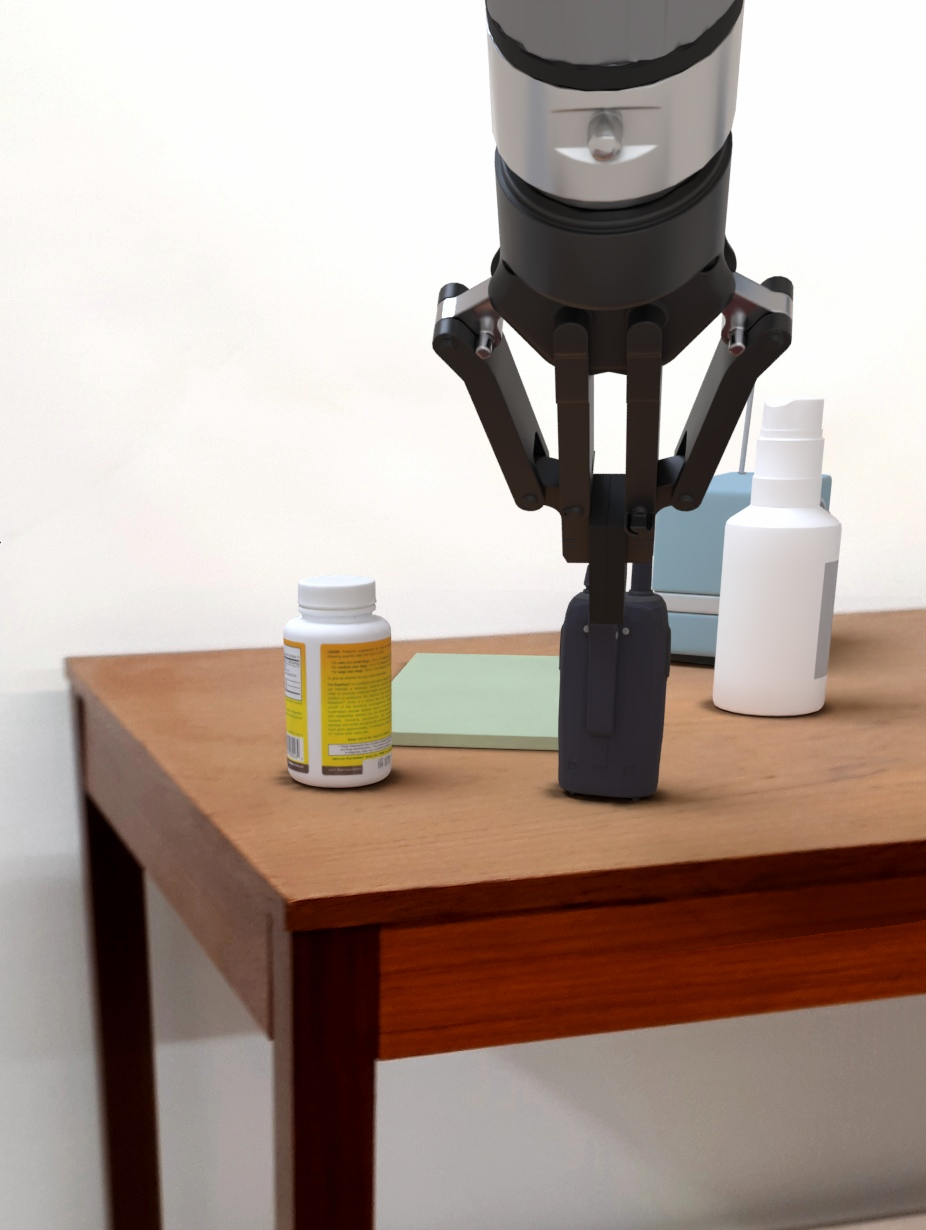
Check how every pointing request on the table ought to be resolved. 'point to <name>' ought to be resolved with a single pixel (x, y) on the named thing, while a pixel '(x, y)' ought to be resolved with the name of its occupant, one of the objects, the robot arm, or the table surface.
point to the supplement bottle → (338, 684)
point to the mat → (477, 701)
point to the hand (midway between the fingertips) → (608, 598)
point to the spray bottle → (779, 574)
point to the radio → (702, 558)
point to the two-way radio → (614, 694)
